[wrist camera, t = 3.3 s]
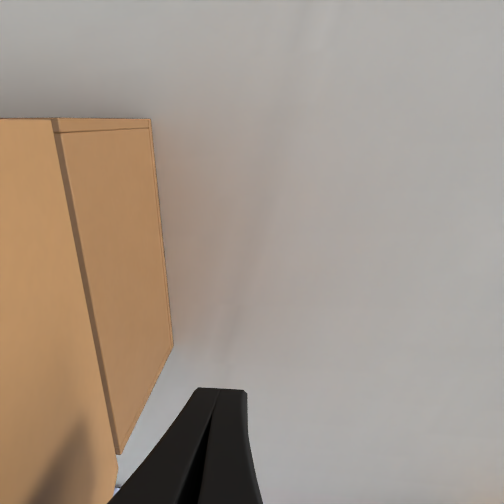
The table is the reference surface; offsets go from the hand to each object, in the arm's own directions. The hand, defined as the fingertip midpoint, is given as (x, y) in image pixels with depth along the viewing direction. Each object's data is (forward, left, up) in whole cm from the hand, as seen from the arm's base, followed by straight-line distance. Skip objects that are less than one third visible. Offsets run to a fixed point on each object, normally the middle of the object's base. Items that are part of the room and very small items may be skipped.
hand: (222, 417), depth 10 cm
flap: (-3, +3, +1) cm, 4 cm away
